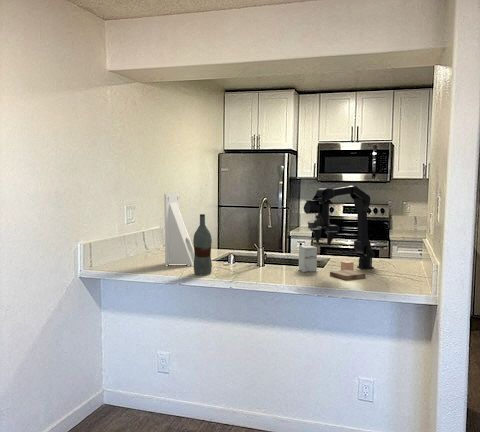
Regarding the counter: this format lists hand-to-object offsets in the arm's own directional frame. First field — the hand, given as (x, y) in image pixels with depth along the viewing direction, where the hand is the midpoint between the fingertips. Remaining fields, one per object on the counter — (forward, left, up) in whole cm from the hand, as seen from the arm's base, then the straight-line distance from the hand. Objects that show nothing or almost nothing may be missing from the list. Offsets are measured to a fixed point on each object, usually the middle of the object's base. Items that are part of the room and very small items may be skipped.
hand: (323, 243), depth 235 cm
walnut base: (-4, +14, -15) cm, 21 cm away
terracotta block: (-13, +3, -15) cm, 20 cm away
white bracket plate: (+55, -55, -15) cm, 79 cm away
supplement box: (+4, -8, -15) cm, 17 cm away
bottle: (+56, -25, -15) cm, 63 cm away
